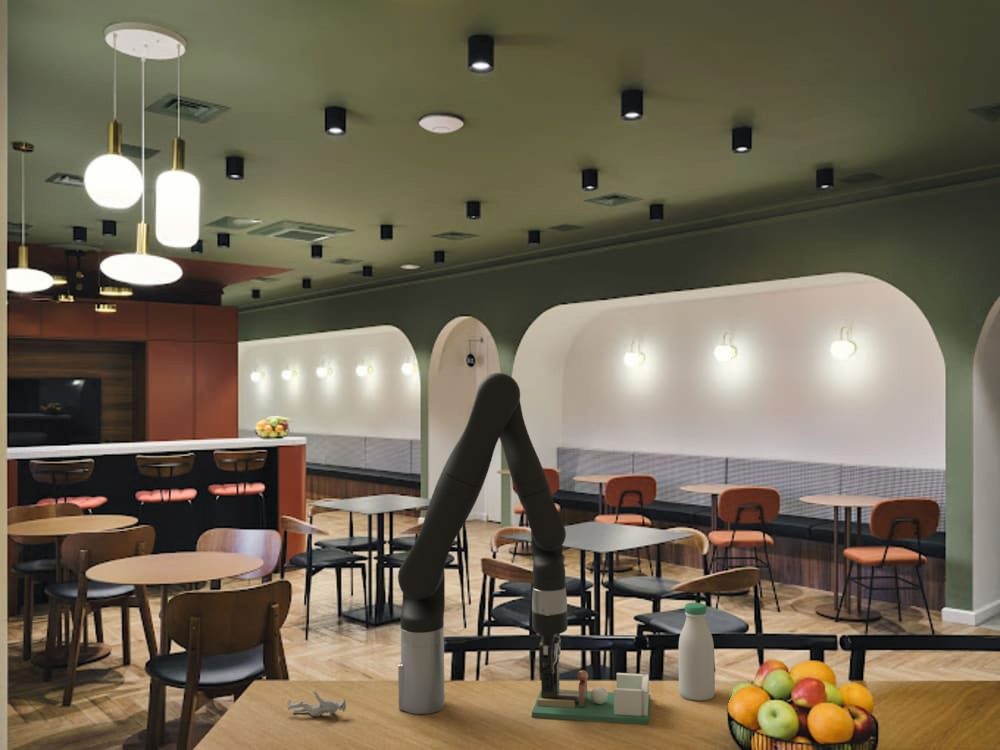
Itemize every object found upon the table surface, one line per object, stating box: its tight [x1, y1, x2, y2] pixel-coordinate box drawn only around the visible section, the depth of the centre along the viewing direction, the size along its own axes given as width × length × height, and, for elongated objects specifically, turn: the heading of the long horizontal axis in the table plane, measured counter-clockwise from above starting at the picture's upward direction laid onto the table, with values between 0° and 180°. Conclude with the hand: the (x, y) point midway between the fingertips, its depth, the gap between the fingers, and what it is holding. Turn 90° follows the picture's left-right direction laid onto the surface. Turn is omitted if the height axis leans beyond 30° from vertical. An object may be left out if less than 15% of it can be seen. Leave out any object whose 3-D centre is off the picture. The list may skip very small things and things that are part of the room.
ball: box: [591, 685, 608, 704], centre depth 186 cm, size 4×4×4 cm
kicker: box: [540, 659, 589, 707], centre depth 187 cm, size 10×6×8 cm, turn 79°
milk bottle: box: [678, 602, 716, 702], centre depth 193 cm, size 8×8×20 cm
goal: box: [613, 672, 650, 716], centre depth 184 cm, size 7×10×5 cm, turn 169°
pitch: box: [531, 688, 651, 725], centre depth 186 cm, size 24×14×2 cm, turn 79°
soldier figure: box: [287, 689, 347, 717], centre depth 184 cm, size 8×5×12 cm
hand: (550, 684), depth 188 cm, fingers open, 7 cm apart
